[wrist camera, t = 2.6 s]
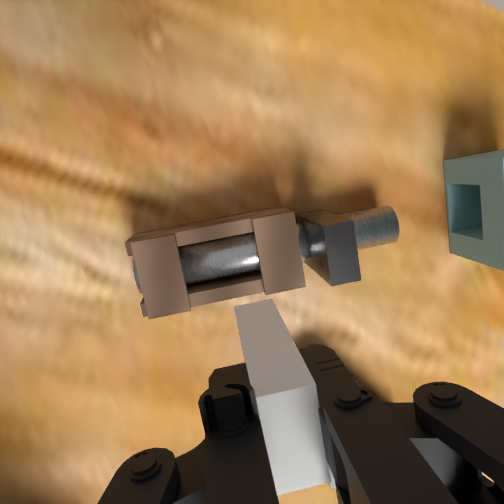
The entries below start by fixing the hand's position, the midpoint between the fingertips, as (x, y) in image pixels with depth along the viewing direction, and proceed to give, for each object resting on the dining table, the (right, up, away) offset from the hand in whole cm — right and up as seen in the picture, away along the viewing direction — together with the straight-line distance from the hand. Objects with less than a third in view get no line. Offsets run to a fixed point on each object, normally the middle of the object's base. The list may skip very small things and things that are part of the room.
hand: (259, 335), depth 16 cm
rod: (+1, +4, +17) cm, 18 cm away
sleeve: (-3, +3, +17) cm, 18 cm away
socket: (+19, +8, +19) cm, 28 cm away
